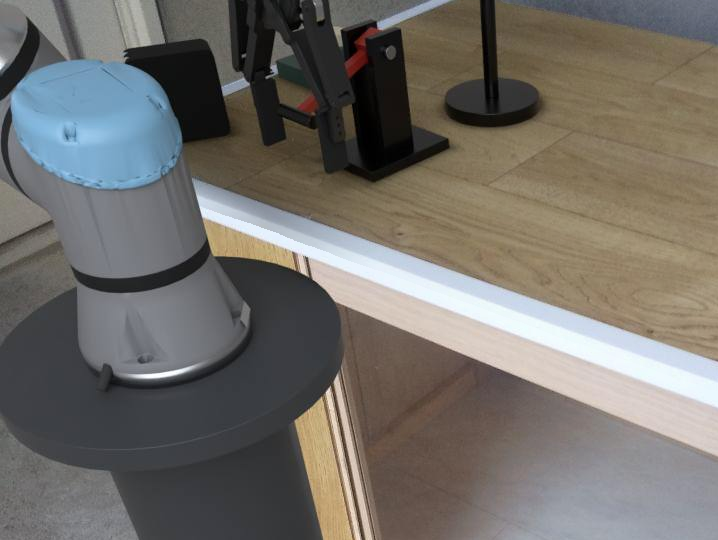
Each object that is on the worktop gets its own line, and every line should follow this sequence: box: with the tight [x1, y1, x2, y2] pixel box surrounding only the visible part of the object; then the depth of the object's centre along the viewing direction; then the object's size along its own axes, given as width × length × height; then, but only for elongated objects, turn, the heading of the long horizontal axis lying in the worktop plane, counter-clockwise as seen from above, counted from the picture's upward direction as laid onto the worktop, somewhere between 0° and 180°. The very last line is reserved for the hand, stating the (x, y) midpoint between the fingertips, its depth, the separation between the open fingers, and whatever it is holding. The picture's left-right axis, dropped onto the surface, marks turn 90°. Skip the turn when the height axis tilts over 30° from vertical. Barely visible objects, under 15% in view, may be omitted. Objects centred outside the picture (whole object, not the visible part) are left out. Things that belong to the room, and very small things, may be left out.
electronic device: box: [121, 38, 232, 143], centre depth 118 cm, size 4×10×10 cm, turn 112°
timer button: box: [333, 25, 344, 47], centre depth 132 cm, size 4×4×2 cm
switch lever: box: [277, 27, 383, 131], centre depth 107 cm, size 14×6×2 cm, turn 138°
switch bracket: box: [341, 18, 450, 183], centre depth 112 cm, size 12×9×14 cm
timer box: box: [275, 46, 345, 90], centre depth 134 cm, size 12×10×4 cm
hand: (305, 155), depth 108 cm, fingers open, 10 cm apart
